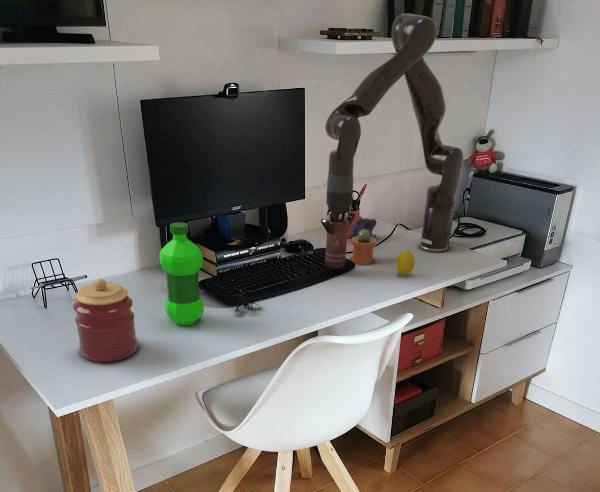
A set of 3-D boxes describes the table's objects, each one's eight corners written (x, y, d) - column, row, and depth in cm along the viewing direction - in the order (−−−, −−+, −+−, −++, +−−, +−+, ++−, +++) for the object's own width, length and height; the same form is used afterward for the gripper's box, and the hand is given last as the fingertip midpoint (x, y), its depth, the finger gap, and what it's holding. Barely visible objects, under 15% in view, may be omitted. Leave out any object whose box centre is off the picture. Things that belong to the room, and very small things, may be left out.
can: (346, 268, 197) (349, 222, 190) (325, 267, 197) (328, 221, 190) (345, 262, 202) (349, 217, 195) (324, 261, 202) (327, 215, 195)
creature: (264, 314, 176) (245, 299, 180) (267, 297, 173) (248, 282, 177) (242, 322, 172) (223, 307, 175) (245, 305, 168) (225, 290, 172)
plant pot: (361, 255, 216) (363, 224, 211) (379, 261, 212) (382, 230, 206) (345, 260, 212) (347, 229, 206) (363, 266, 207) (366, 235, 201)
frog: (340, 238, 231) (341, 216, 227) (365, 232, 237) (366, 211, 233) (359, 245, 224) (361, 223, 220) (384, 239, 231) (386, 217, 227)
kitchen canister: (73, 362, 148) (61, 289, 139) (89, 337, 159) (78, 268, 150) (131, 364, 148) (122, 291, 139) (142, 338, 159) (135, 269, 150)
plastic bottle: (157, 318, 169) (149, 223, 156) (193, 309, 175) (188, 216, 162) (176, 333, 163) (169, 234, 150) (213, 323, 168) (209, 226, 155)
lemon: (415, 274, 202) (418, 249, 198) (409, 280, 198) (413, 254, 194) (397, 271, 204) (400, 246, 200) (392, 276, 200) (395, 251, 196)
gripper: (333, 195, 182) (330, 255, 191) (364, 187, 190) (360, 245, 199) (314, 189, 186) (312, 248, 196) (345, 182, 194) (342, 239, 203)
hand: (336, 247), depth 197 cm, fingers closed
